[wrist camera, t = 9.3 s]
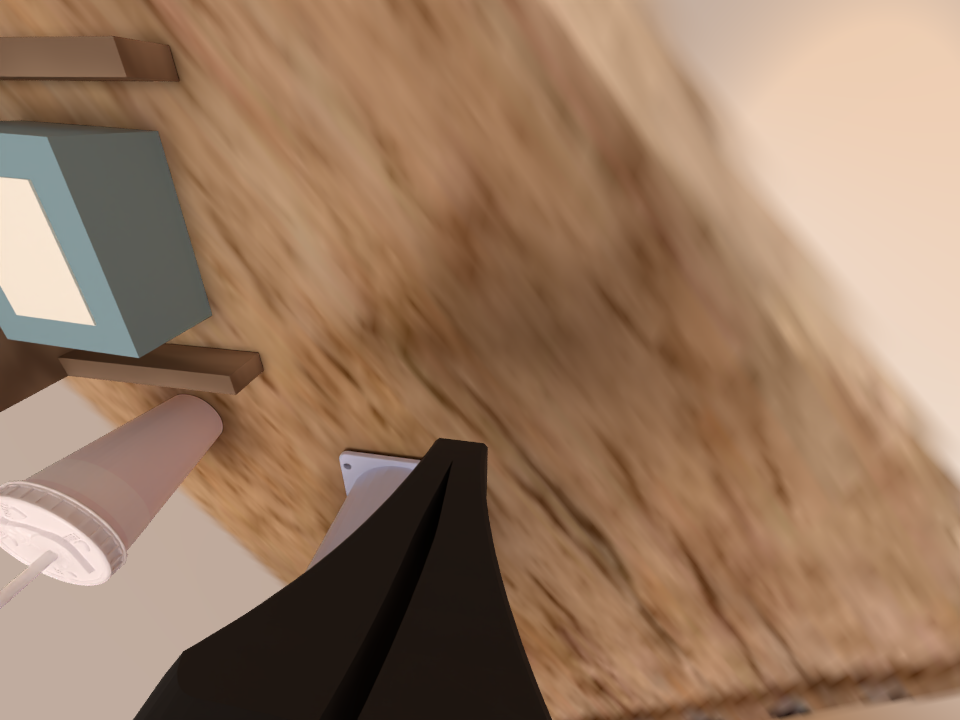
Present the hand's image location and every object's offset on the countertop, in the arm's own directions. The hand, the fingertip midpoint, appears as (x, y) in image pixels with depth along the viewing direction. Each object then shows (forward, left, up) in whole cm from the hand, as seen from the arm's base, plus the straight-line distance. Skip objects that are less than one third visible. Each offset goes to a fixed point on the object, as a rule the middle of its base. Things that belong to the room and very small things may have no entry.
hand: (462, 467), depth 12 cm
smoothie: (-9, +20, -11) cm, 24 cm away
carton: (+3, +20, -11) cm, 22 cm away
